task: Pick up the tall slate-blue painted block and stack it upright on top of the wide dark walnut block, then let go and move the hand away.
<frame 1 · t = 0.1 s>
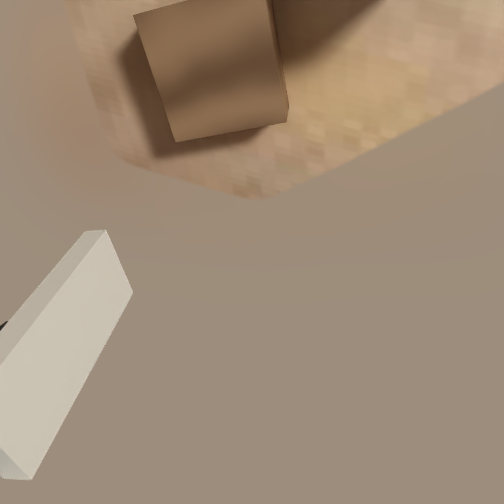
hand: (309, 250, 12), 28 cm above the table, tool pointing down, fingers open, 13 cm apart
walnut block: (224, 59, 36), on the table
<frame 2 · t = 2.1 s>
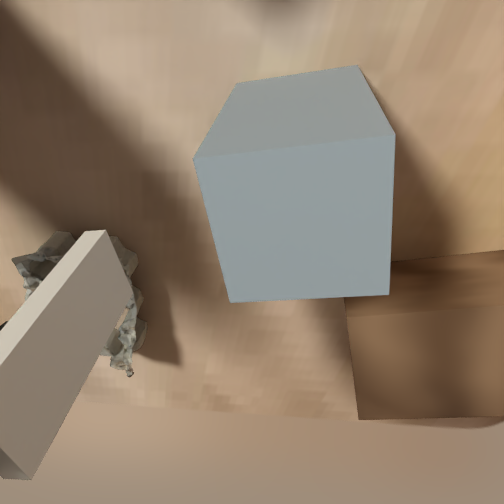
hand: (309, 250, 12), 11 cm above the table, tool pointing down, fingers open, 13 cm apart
slate block: (301, 133, 22), on the table
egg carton: (100, 286, 30), on the table
walnut block: (418, 312, 28), on the table
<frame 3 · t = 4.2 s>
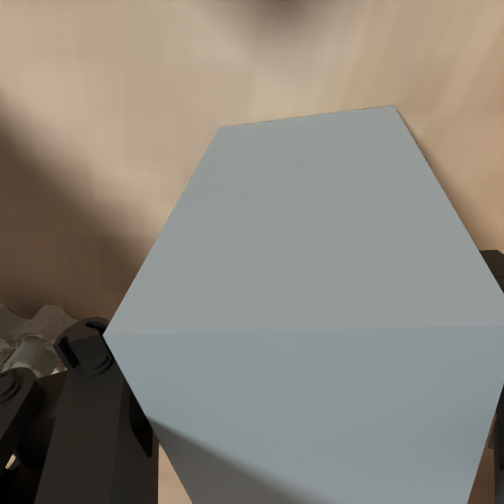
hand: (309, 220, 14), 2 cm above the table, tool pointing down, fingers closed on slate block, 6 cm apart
slate block: (309, 194, 16), on the table, touching gripper
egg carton: (55, 359, 25), on the table
walnut block: (456, 405, 22), on the table
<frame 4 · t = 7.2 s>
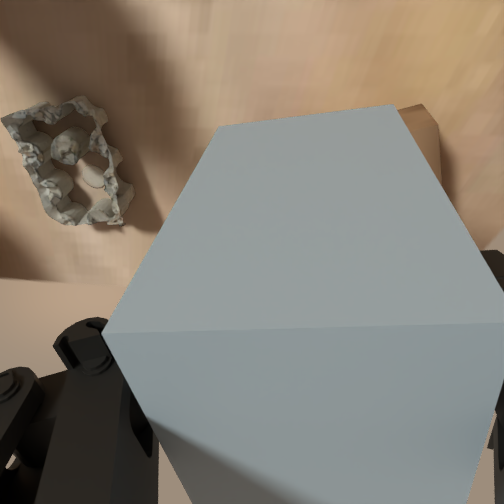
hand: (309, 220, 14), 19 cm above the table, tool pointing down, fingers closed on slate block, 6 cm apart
slate block: (309, 193, 15), point 17 cm above the table, touching gripper
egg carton: (87, 157, 35), on the table
walnut block: (362, 179, 33), on the table
when the fingers open (8 cm above the table, at t = 10.6 s): slate block drops 2 cm, point 5 cm above the table.
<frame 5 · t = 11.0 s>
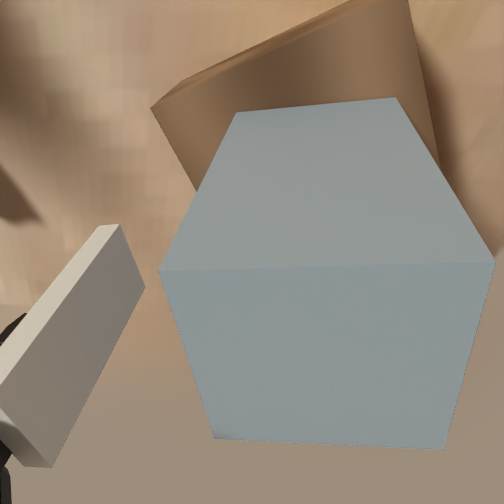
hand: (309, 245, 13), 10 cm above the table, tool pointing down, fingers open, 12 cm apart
slate block: (316, 177, 17), point 5 cm above the table
walnut block: (310, 134, 21), on the table
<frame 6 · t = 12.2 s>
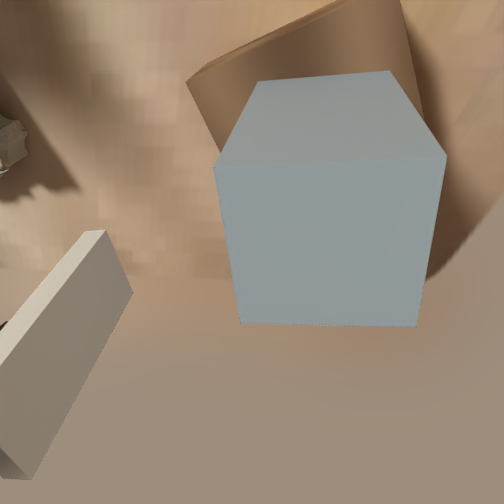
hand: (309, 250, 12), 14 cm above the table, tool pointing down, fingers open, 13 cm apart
slate block: (322, 139, 20), point 5 cm above the table, touching walnut block
walnut block: (317, 110, 24), on the table, touching slate block
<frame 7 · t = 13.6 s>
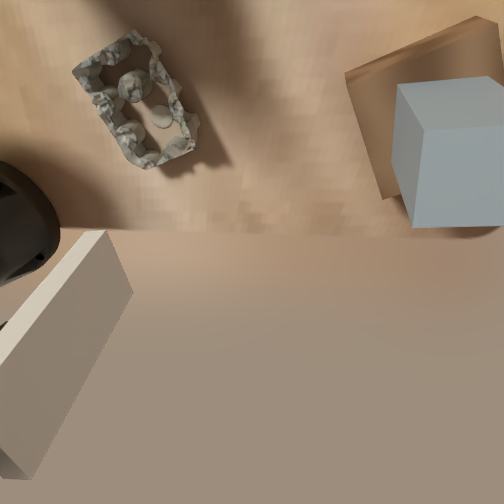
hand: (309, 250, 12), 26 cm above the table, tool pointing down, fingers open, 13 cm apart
slate block: (435, 122, 30), point 5 cm above the table, touching walnut block
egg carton: (151, 99, 37), on the table
walnut block: (419, 104, 34), on the table, touching slate block
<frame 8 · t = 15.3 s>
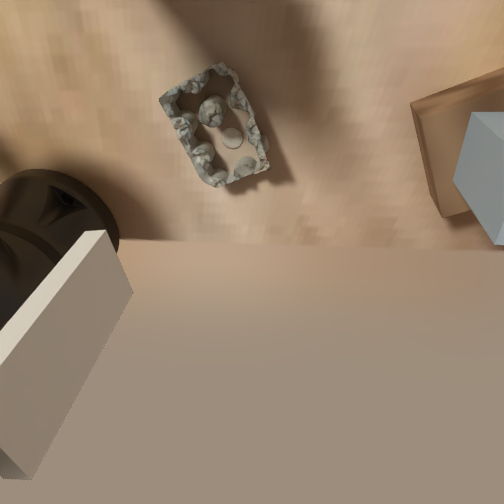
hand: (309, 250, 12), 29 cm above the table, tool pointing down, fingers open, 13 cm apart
slate block: (499, 148, 33), point 5 cm above the table
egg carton: (223, 122, 40), on the table
walnut block: (475, 131, 38), on the table
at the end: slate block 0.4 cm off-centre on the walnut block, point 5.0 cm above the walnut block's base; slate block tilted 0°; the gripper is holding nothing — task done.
